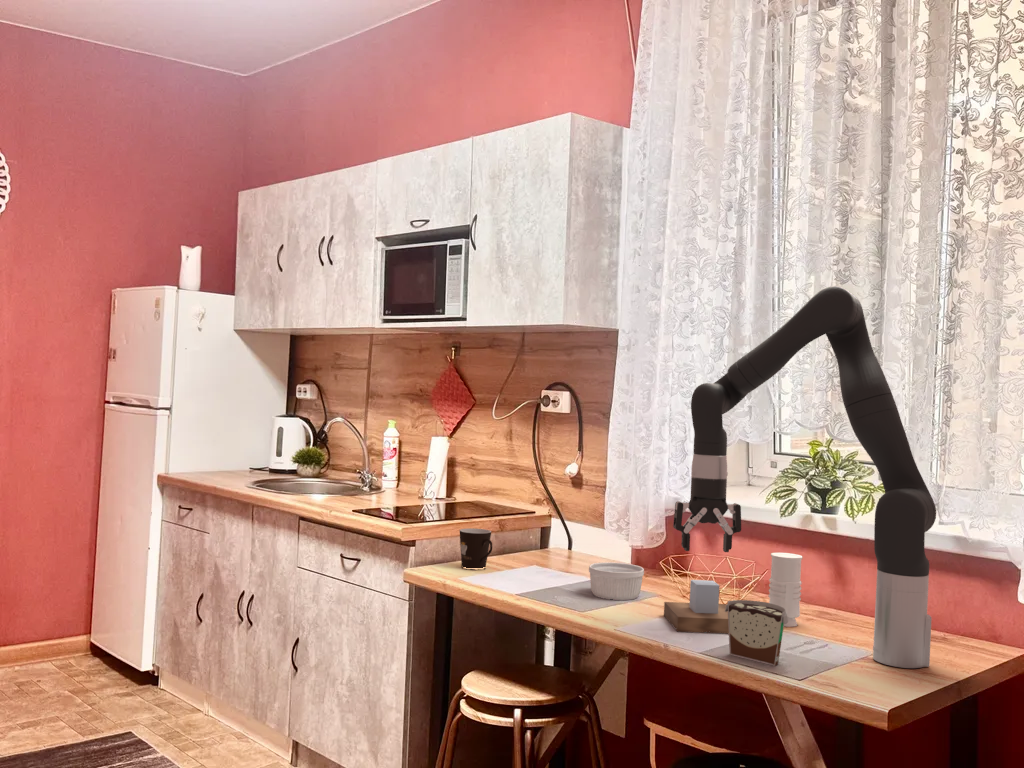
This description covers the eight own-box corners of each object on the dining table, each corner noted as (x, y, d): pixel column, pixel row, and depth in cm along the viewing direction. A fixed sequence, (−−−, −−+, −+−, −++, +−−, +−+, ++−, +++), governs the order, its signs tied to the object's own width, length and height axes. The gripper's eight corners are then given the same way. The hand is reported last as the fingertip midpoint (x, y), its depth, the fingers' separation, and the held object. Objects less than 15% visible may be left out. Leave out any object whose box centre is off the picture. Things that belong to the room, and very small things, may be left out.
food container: (797, 661, 178) (800, 608, 178) (782, 667, 173) (785, 613, 173) (738, 647, 186) (740, 596, 186) (722, 652, 182) (725, 600, 182)
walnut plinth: (725, 617, 211) (726, 604, 211) (744, 634, 197) (744, 619, 197) (663, 615, 210) (664, 601, 210) (677, 631, 196) (678, 617, 196)
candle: (771, 626, 205) (775, 557, 205) (763, 618, 212) (767, 551, 212) (803, 628, 205) (807, 558, 205) (794, 620, 212) (797, 553, 212)
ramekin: (590, 600, 222) (592, 571, 222) (584, 588, 235) (586, 560, 235) (647, 603, 223) (648, 573, 223) (637, 591, 236) (639, 563, 236)
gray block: (711, 608, 206) (713, 580, 206) (718, 613, 201) (719, 585, 201) (689, 607, 206) (690, 579, 206) (694, 612, 201) (696, 584, 201)
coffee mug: (455, 564, 258) (457, 528, 259) (486, 565, 260) (488, 528, 260) (461, 573, 247) (463, 534, 247) (493, 573, 249) (495, 535, 249)
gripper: (736, 475, 208) (734, 549, 208) (672, 473, 207) (669, 547, 207) (746, 478, 200) (743, 555, 200) (680, 476, 200) (677, 553, 200)
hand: (706, 551), depth 204 cm, fingers open, 8 cm apart
